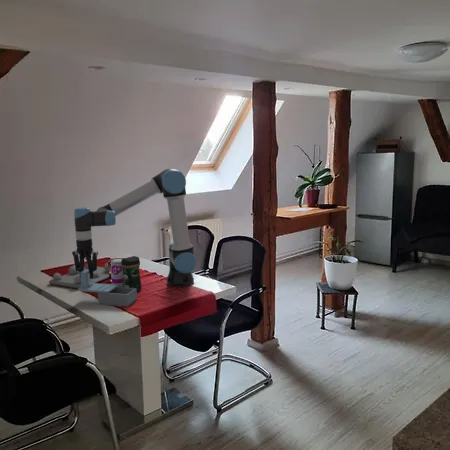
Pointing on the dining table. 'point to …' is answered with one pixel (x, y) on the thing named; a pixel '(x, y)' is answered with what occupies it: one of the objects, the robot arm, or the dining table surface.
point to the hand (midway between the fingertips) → (87, 284)
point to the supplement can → (116, 272)
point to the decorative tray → (74, 277)
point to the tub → (118, 297)
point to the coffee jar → (131, 272)
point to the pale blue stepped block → (94, 284)
